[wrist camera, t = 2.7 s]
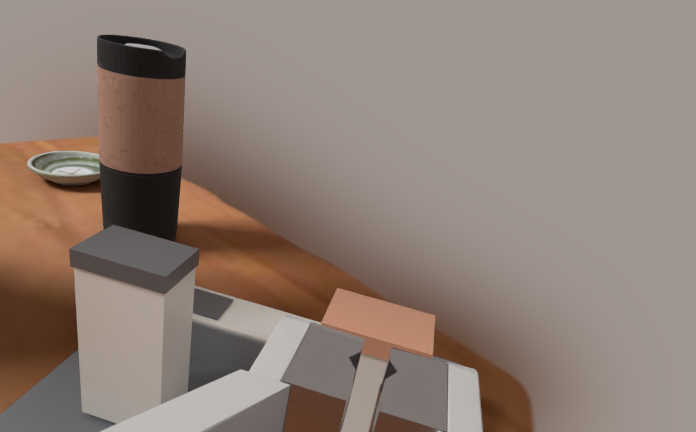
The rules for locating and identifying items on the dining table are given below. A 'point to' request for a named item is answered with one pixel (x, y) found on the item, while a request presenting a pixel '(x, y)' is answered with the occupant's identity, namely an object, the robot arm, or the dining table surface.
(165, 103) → the travel mug
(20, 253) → the dining table surface
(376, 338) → the terracotta key
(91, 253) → the charcoal key
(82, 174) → the saucer
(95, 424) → the key console
